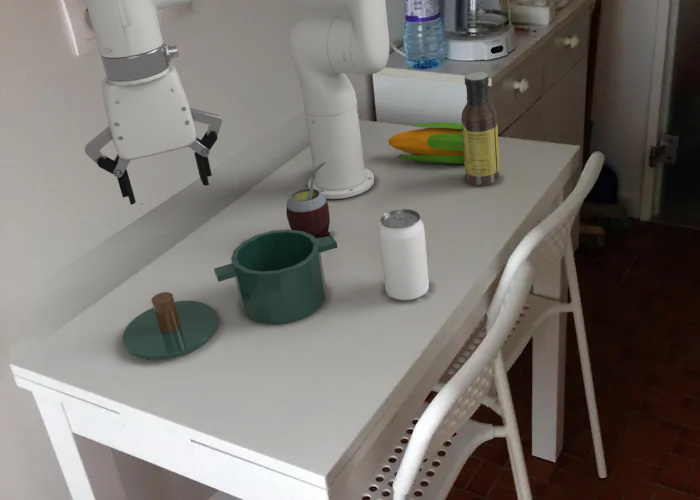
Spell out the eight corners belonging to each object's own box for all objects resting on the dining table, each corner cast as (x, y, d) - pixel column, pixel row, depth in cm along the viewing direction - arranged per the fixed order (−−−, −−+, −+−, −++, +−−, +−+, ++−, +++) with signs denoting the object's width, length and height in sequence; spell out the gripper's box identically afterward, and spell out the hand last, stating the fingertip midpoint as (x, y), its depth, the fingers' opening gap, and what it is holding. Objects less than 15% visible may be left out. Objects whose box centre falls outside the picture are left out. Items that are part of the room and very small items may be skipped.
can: (426, 302, 115) (420, 228, 109) (382, 301, 117) (373, 229, 111) (431, 278, 120) (426, 207, 115) (389, 278, 122) (381, 207, 116)
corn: (481, 130, 148) (379, 127, 155) (482, 169, 151) (382, 165, 158) (490, 118, 154) (391, 116, 161) (491, 156, 157) (394, 152, 164)
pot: (217, 296, 123) (205, 248, 119) (327, 264, 128) (320, 217, 123) (235, 339, 113) (223, 288, 108) (355, 303, 117) (348, 252, 113)
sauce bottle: (478, 169, 152) (473, 66, 142) (506, 176, 148) (503, 71, 138) (458, 182, 148) (451, 77, 138) (486, 190, 144) (482, 82, 134)
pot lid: (119, 323, 120) (108, 288, 117) (208, 297, 123) (200, 263, 120) (130, 374, 108) (118, 337, 105) (228, 344, 112) (219, 307, 109)
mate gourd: (292, 229, 139) (278, 149, 132) (337, 224, 139) (326, 144, 132) (290, 251, 133) (275, 168, 126) (337, 245, 132) (325, 162, 125)
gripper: (200, 42, 102) (227, 165, 111) (62, 71, 98) (100, 196, 107) (211, 56, 96) (238, 185, 104) (63, 87, 92) (104, 219, 100)
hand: (168, 191), depth 106 cm, fingers open, 9 cm apart
